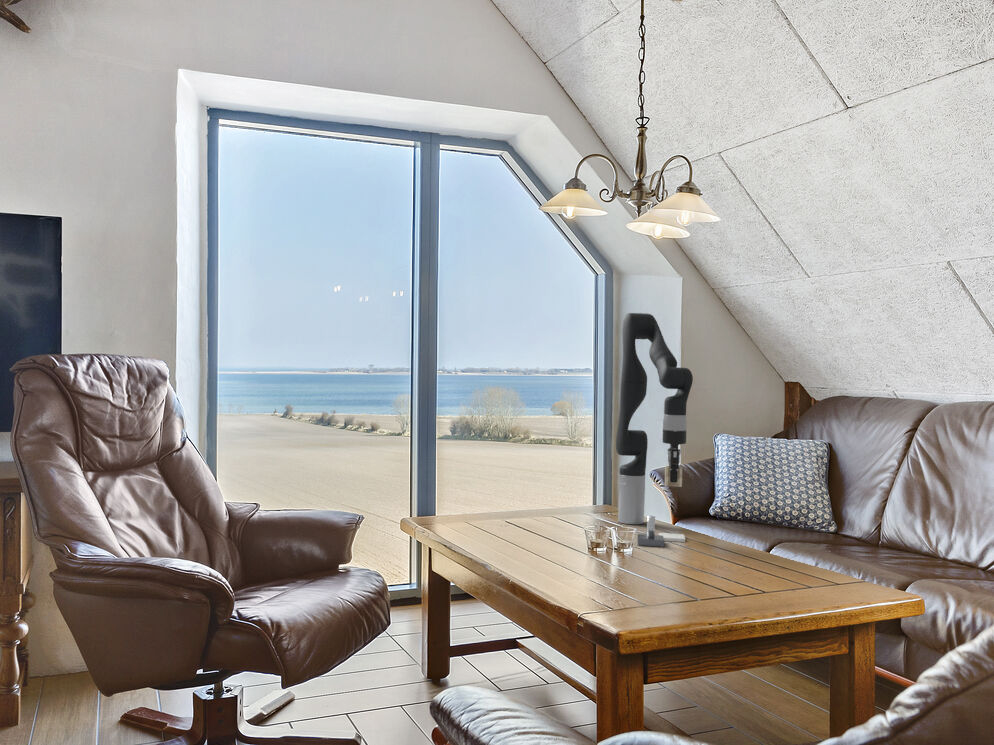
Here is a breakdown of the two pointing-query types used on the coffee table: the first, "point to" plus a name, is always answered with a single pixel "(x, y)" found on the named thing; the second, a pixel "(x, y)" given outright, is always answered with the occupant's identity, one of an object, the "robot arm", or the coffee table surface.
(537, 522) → the coffee table surface
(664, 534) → the tile
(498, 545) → the coffee table surface
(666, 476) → the beige upright block
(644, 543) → the pin stand
